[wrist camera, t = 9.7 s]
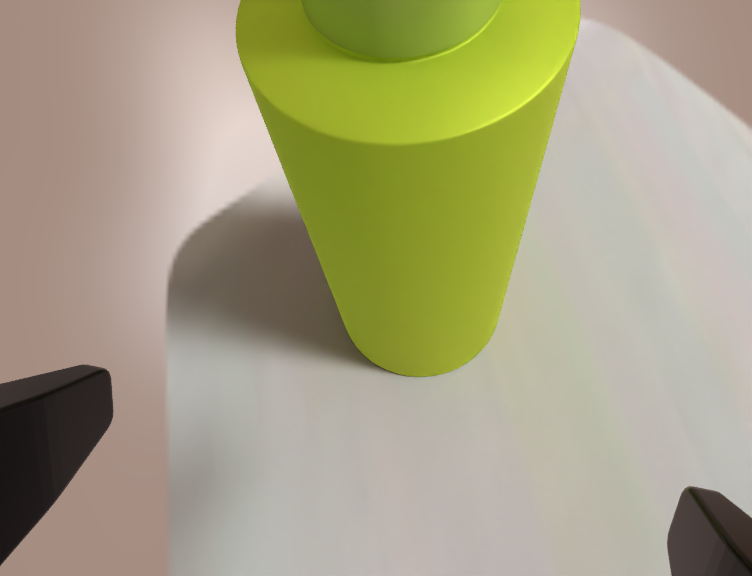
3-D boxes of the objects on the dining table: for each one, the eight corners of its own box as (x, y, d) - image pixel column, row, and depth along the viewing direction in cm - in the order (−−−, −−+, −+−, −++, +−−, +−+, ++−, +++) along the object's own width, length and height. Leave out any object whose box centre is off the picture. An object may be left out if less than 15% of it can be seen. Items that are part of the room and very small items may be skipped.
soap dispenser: (555, 323, 21) (1319, -1098, 3) (380, 404, 20) (-48, -768, 2) (477, 199, 23) (629, -1011, 5) (318, 268, 23) (-131, -835, 5)
